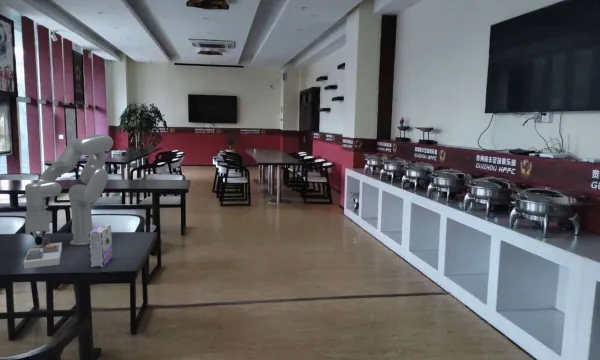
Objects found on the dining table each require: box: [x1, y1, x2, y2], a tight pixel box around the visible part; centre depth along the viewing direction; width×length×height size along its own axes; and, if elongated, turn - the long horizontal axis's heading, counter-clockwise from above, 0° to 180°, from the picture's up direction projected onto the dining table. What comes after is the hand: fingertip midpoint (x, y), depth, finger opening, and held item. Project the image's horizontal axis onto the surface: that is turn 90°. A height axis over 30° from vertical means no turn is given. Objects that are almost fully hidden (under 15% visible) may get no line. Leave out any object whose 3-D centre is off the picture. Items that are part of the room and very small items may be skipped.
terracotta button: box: [46, 243, 56, 249], centre depth 222 cm, size 4×4×2 cm
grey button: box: [28, 248, 40, 256], centre depth 211 cm, size 4×4×2 cm
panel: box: [22, 242, 63, 270], centre depth 221 cm, size 14×30×5 cm, turn 25°
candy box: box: [88, 224, 114, 268], centre depth 212 cm, size 14×6×16 cm, turn 5°
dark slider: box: [41, 236, 51, 248], centre depth 228 cm, size 3×5×4 cm, turn 25°
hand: (38, 244), depth 227 cm, fingers closed
